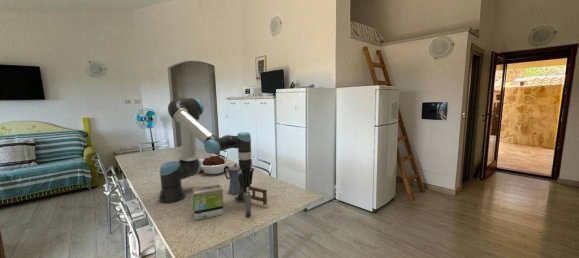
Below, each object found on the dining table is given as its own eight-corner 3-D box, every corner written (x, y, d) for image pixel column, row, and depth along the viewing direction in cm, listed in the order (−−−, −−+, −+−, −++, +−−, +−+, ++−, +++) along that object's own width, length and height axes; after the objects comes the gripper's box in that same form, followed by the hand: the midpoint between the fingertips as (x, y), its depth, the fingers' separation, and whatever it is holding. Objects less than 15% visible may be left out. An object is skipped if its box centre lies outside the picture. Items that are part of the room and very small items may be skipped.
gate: (265, 205, 145) (264, 190, 144) (241, 199, 154) (241, 185, 153) (266, 204, 146) (266, 189, 145) (243, 198, 155) (243, 184, 154)
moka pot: (242, 195, 163) (241, 166, 160) (221, 194, 166) (219, 165, 163) (247, 190, 172) (246, 162, 170) (227, 189, 175) (226, 161, 173)
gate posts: (243, 218, 133) (242, 195, 131) (234, 199, 157) (233, 179, 156) (254, 216, 135) (253, 193, 133) (244, 197, 160) (243, 178, 158)
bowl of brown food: (210, 167, 229) (209, 151, 227) (234, 169, 223) (234, 153, 221) (193, 176, 205) (192, 158, 203) (220, 178, 199) (219, 160, 197)
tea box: (195, 221, 130) (193, 194, 128) (193, 213, 139) (191, 188, 137) (224, 214, 137) (222, 189, 135) (220, 207, 146) (218, 183, 144)
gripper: (242, 161, 138) (244, 202, 141) (257, 157, 149) (258, 195, 151) (232, 160, 142) (234, 199, 145) (247, 156, 153) (249, 192, 155)
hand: (246, 197), depth 148 cm, fingers closed
